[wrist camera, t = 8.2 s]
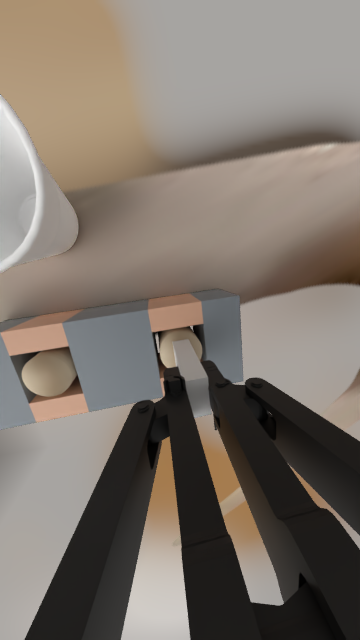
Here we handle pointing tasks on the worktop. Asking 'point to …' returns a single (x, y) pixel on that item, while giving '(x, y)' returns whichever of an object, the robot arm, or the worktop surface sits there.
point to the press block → (113, 352)
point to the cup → (29, 199)
